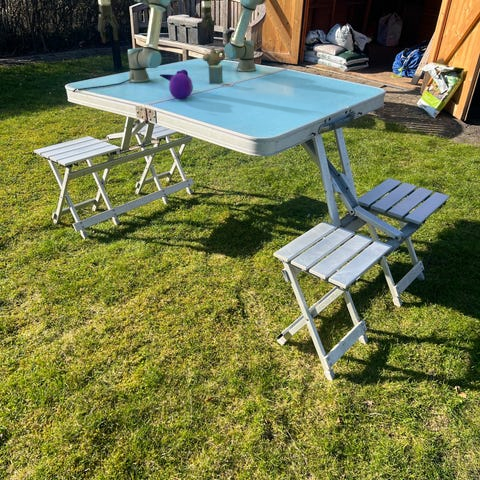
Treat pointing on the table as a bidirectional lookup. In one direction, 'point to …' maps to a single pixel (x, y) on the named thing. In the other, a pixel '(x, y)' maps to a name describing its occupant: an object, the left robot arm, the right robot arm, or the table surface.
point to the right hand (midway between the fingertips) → (207, 36)
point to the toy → (179, 84)
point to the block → (215, 74)
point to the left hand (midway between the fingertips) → (110, 41)
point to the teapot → (214, 57)
